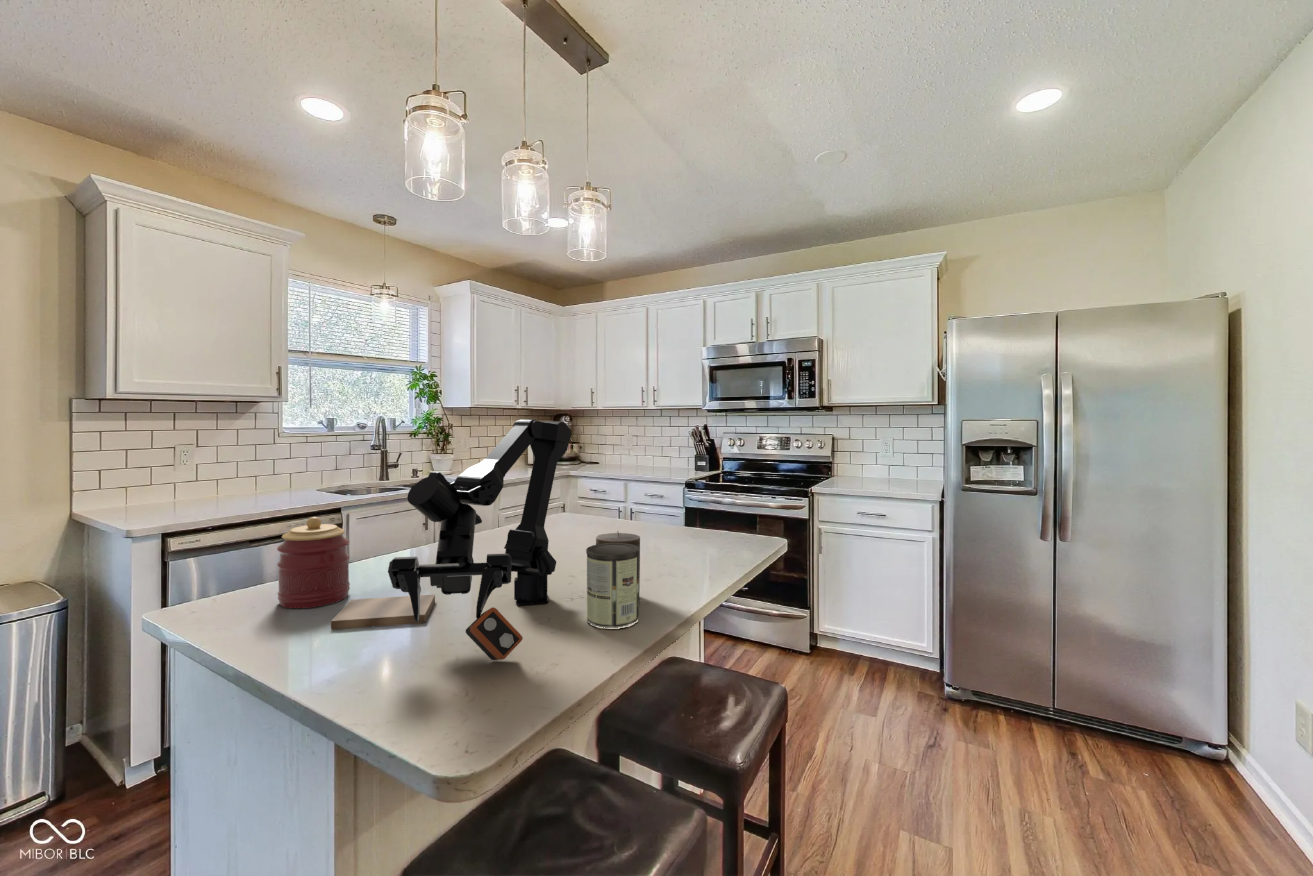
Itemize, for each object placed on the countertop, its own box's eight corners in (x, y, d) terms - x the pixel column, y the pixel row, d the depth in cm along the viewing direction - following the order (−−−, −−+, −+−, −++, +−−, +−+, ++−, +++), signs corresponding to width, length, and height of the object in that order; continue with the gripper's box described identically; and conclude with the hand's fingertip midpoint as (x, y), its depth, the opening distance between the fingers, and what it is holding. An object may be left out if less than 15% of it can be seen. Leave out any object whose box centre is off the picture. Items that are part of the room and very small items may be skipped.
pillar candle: (629, 609, 111) (631, 536, 111) (586, 603, 115) (588, 532, 114) (645, 595, 121) (647, 528, 120) (605, 590, 124) (606, 525, 123)
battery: (492, 661, 87) (504, 661, 79) (463, 631, 87) (471, 627, 79) (512, 640, 90) (525, 637, 81) (484, 611, 90) (494, 604, 81)
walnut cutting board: (435, 601, 115) (435, 594, 114) (424, 622, 103) (424, 614, 103) (351, 607, 111) (351, 599, 111) (331, 629, 99) (330, 621, 99)
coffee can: (602, 607, 112) (603, 540, 112) (647, 615, 108) (648, 545, 107) (575, 625, 103) (575, 551, 102) (623, 634, 99) (624, 557, 98)
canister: (361, 589, 122) (360, 511, 121) (328, 610, 109) (327, 523, 109) (302, 589, 122) (301, 511, 121) (262, 610, 109) (261, 522, 108)
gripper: (512, 558, 102) (510, 637, 92) (405, 561, 98) (390, 646, 87) (512, 523, 95) (509, 606, 84) (396, 525, 90) (378, 613, 80)
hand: (447, 619), depth 84 cm, fingers open, 9 cm apart
